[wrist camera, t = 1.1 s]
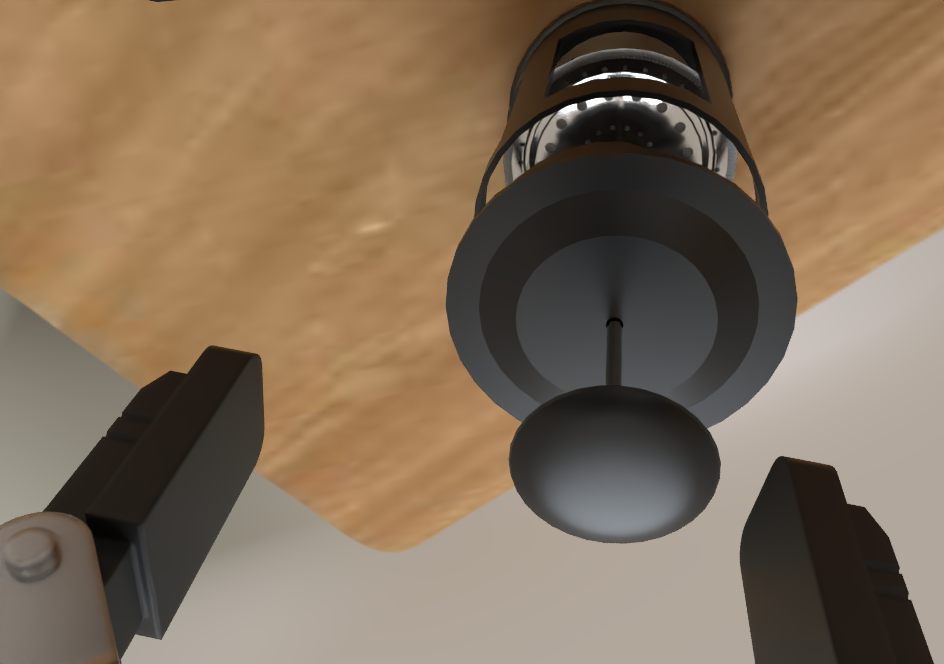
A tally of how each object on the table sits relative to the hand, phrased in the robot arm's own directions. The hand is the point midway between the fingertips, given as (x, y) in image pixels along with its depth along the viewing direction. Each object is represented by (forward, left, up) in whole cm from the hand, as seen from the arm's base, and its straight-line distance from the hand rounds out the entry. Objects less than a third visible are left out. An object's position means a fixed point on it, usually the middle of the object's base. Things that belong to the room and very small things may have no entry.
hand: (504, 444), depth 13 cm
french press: (+3, +2, -26) cm, 26 cm away
